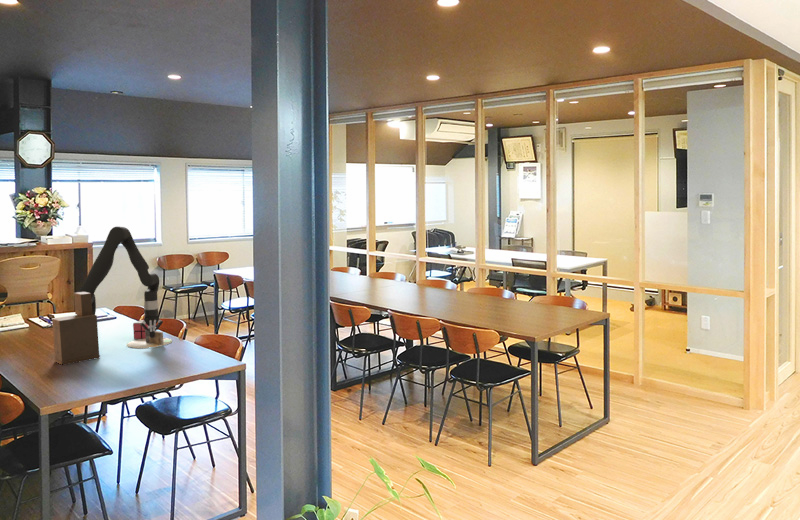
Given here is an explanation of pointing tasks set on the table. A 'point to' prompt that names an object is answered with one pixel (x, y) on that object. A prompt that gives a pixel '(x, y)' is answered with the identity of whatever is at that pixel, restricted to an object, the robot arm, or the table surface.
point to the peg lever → (157, 339)
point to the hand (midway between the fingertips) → (152, 337)
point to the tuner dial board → (143, 344)
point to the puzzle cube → (139, 330)
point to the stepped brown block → (76, 333)
